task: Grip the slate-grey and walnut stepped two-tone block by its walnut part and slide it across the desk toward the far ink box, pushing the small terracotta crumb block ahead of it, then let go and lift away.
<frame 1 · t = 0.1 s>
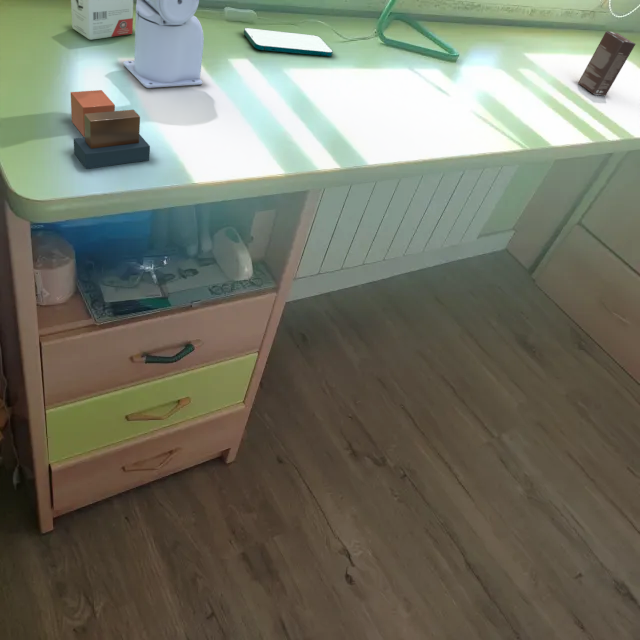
crumb block: (93, 127, 78), on the table
ink box: (102, 32, 100), on the table
box: (591, 90, 141), on the table
stepped two-tone block: (112, 156, 74), on the table
smartphone: (288, 45, 115), on the table
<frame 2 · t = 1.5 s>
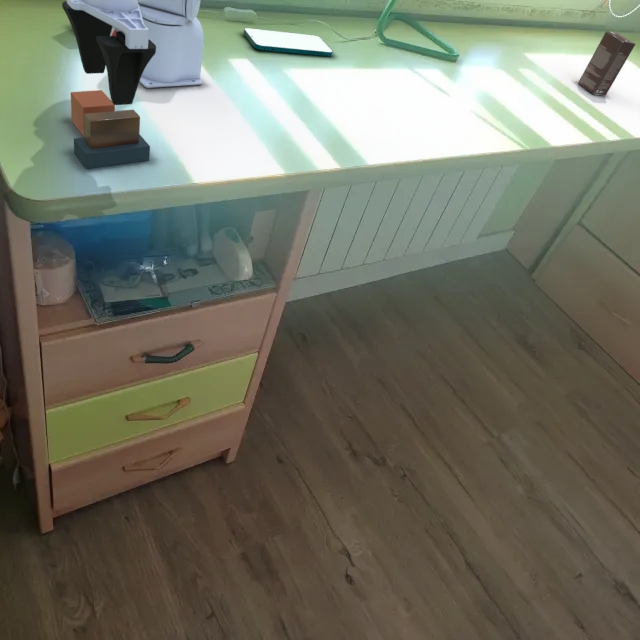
hand: (107, 87, 68), 9 cm above the table, tool pointing down, fingers open, 7 cm apart
nothing on the table moved.
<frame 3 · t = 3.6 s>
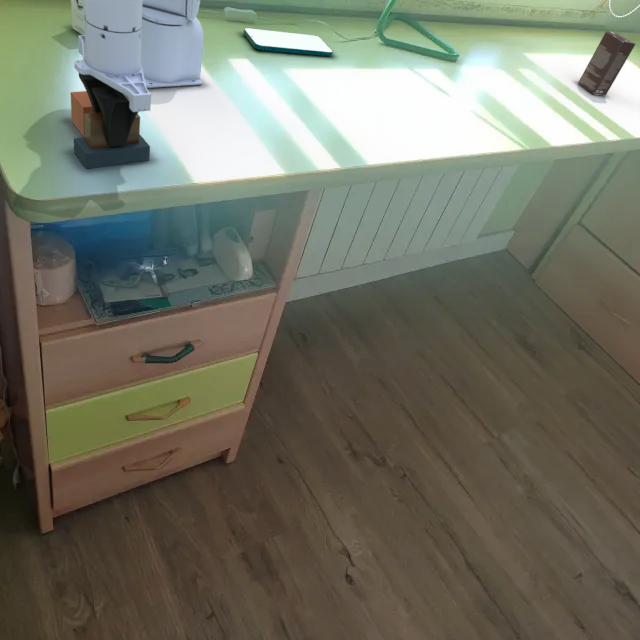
hand: (112, 139, 73), 2 cm above the table, tool pointing down, fingers closed on stepped two-tone block, 2 cm apart
stepped two-tone block: (112, 156, 74), on the table, touching gripper
everything else where it was.
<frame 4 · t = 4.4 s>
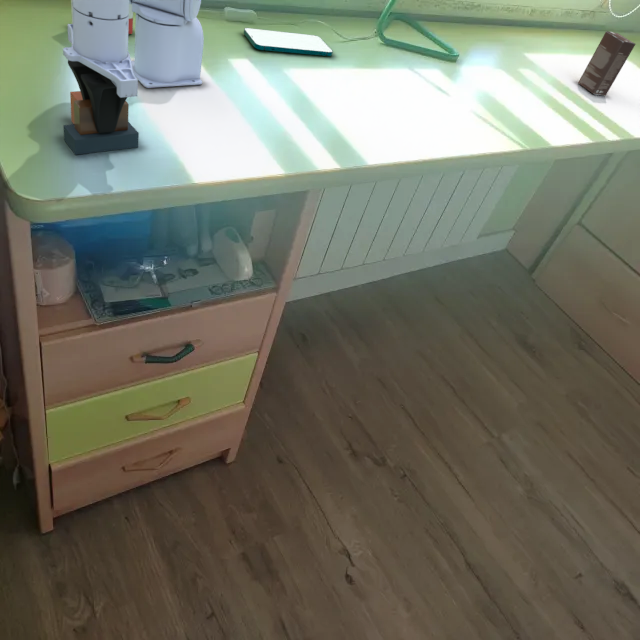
hand: (101, 125, 74), 2 cm above the table, tool pointing down, fingers closed on stepped two-tone block, 2 cm apart
crumb block: (92, 127, 78), on the table, touching gripper
stepped two-tone block: (101, 143, 76), on the table, touching gripper
everything else where it was.
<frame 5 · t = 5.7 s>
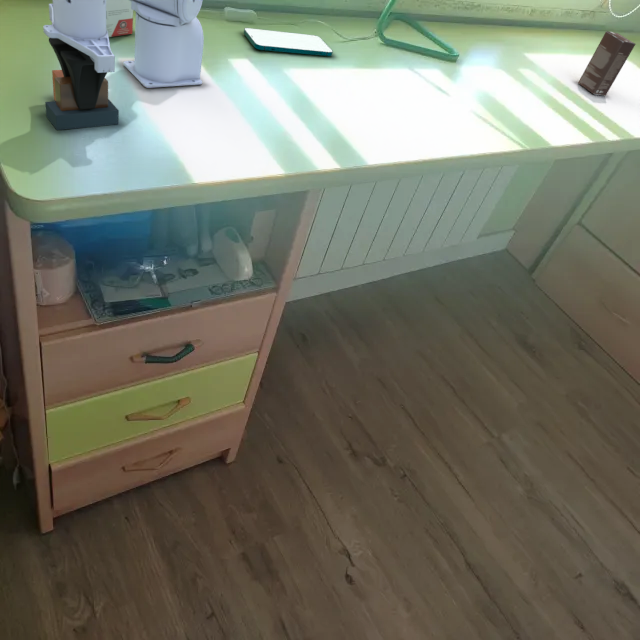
hand: (82, 102, 77), 2 cm above the table, tool pointing down, fingers closed on stepped two-tone block, 2 cm apart
crumb block: (74, 105, 81), on the table, touching gripper
stepped two-tone block: (83, 120, 79), on the table, touching gripper
everything else where it was.
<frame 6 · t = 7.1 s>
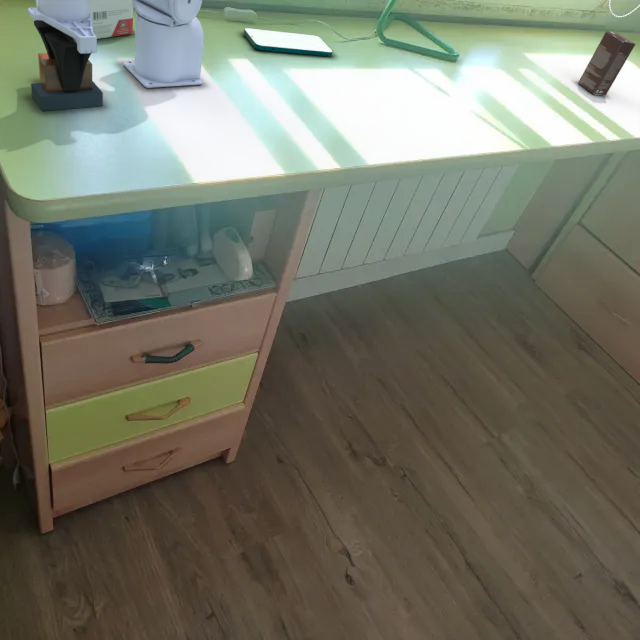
hand: (67, 84, 79), 2 cm above the table, tool pointing down, fingers closed on stepped two-tone block, 2 cm apart
crumb block: (60, 88, 83), on the table, touching gripper
stepped two-tone block: (68, 102, 81), on the table, touching gripper
everything else where it was.
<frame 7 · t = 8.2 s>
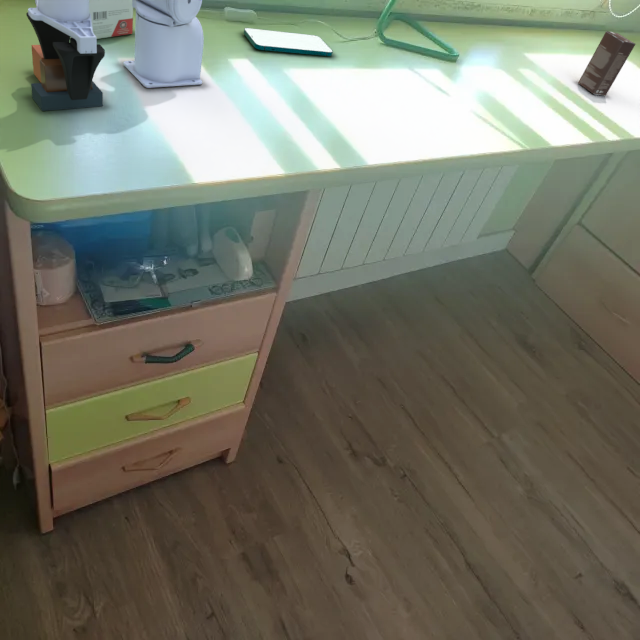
hand: (67, 84, 79), 2 cm above the table, tool pointing down, fingers open, 7 cm apart
crumb block: (53, 79, 84), on the table, touching gripper
stepped two-tone block: (68, 102, 81), on the table
everything else where it was.
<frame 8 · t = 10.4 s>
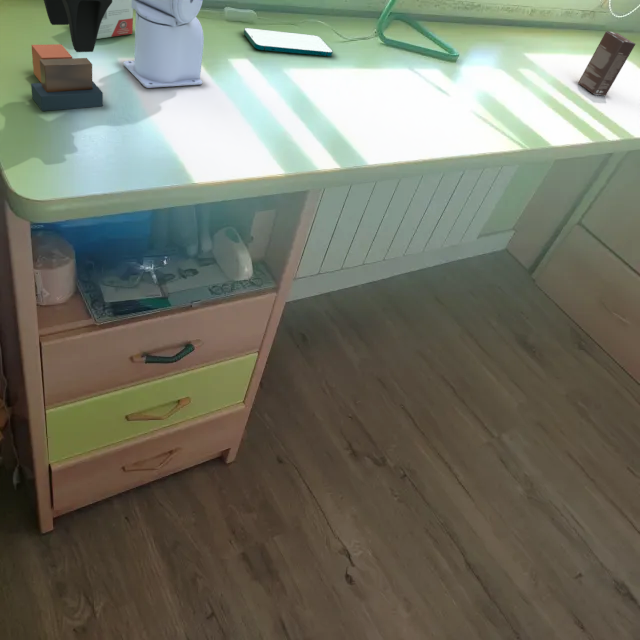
hand: (71, 37, 74), 9 cm above the table, tool pointing down, fingers open, 7 cm apart
crumb block: (53, 79, 84), on the table
everything else where it was.
at the end: crumb block inside the target area (2.0 cm from its centre), on the table; crumb block 20.6 cm from the ink box (horizontally); stepped two-tone block moved 14.0 cm from its start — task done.
